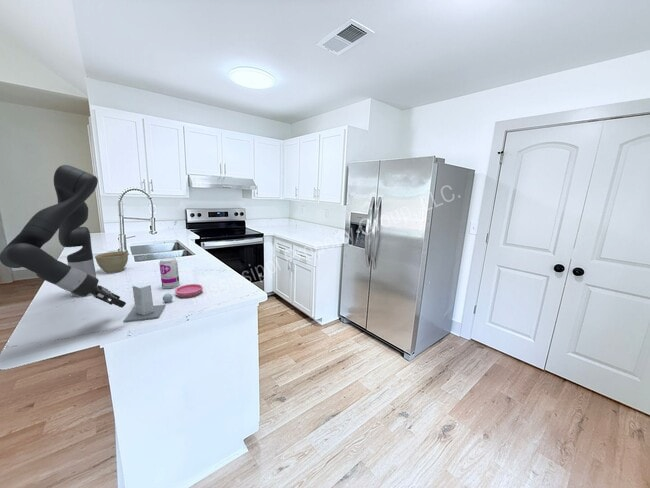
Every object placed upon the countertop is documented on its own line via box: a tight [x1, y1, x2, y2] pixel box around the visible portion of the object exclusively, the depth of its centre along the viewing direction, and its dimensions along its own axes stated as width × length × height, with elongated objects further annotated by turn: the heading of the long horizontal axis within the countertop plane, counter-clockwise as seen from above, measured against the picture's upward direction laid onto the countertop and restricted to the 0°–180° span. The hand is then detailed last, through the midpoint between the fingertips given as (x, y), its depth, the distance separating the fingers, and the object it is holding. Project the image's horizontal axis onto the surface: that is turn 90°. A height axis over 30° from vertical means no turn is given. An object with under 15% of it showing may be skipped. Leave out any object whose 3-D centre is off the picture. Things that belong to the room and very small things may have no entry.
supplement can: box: [159, 257, 180, 289], centre depth 141 cm, size 8×8×15 cm
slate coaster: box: [123, 304, 166, 323], centre depth 111 cm, size 12×12×1 cm
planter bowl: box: [94, 251, 129, 274], centre depth 164 cm, size 16×16×11 cm
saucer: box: [174, 283, 204, 298], centre depth 133 cm, size 12×12×3 cm
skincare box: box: [131, 282, 154, 315], centre depth 109 cm, size 6×4×12 cm
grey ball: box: [162, 293, 174, 303], centre depth 122 cm, size 4×4×4 cm
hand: (121, 302), depth 103 cm, fingers open, 8 cm apart
